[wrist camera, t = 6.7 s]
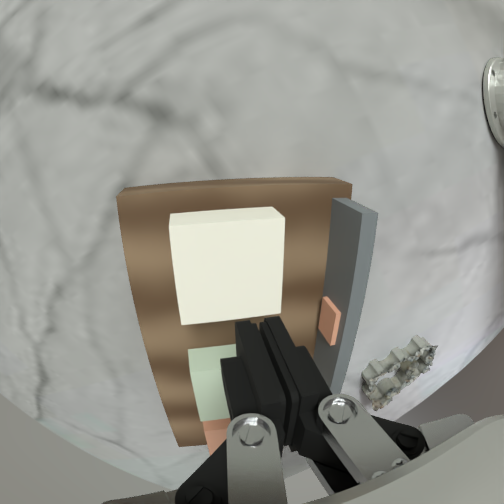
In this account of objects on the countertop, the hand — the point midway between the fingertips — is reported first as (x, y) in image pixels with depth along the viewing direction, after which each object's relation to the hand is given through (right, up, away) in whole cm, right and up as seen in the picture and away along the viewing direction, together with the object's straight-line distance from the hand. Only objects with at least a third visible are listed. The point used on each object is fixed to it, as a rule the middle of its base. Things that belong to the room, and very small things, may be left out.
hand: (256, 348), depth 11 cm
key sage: (-2, -6, +11) cm, 13 cm away
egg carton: (+19, -11, +24) cm, 33 cm away
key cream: (-2, +3, +7) cm, 8 cm away
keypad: (-1, -4, +16) cm, 16 cm away
